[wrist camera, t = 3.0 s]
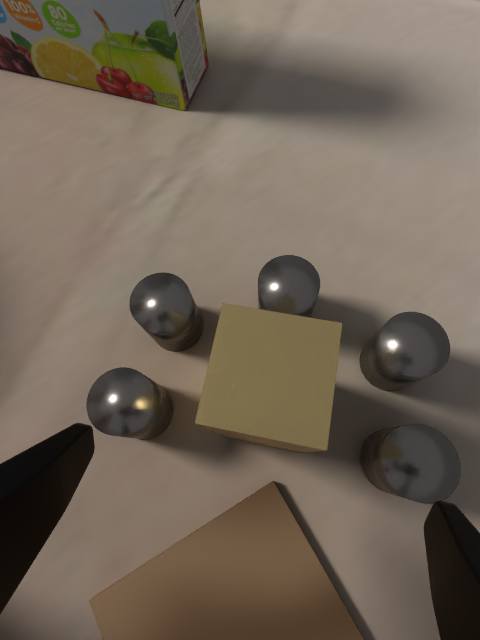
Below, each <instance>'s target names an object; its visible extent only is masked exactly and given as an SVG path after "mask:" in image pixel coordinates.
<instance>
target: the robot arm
mask: <svg viewBox="0 0 480 640" xmlns="http://www.w3.org/2000/svg"><path fill="white" fill-rule="evenodd" d="M94 448H95V446H94V437H93V429H92V427H91V426H90V425H86V424H81V423H76V424H73V425H71V426H70V427H68V428H66V429H64V430H62V431H60V432H59V433H57V434H55V435H53V436H51V437H49V438H47V439H46V440H44V441H42V442H40V443H38V444H36V445H35V446H33V447H31V448H29V449H27V450H25V451H23V452H22V453H20V454H18V455H16V456H14V457H12V458H11V459H9V460H7V461H5V462H3V463H1V464H0V614H1V612H2V611H3V609H4V608H5V606H6V604H7V603H8V601H9V600H10V598H11V596H12V595H13V593H14V592H15V590H16V589H17V587H18V585H19V584H20V582H21V581H22V579H23V577H24V576H25V574H26V573H27V571H28V569H29V568H30V566H31V565H32V563H33V561H34V560H35V558H36V557H37V555H38V553H39V552H40V550H41V549H42V547H43V545H44V544H45V542H46V541H47V539H48V538H49V536H50V534H51V533H52V531H53V530H54V528H55V526H56V525H57V523H58V522H59V520H60V518H61V517H62V515H63V513H64V512H65V510H66V508H67V506H68V505H69V503H70V501H71V499H72V497H73V495H74V493H75V491H76V489H77V487H78V485H79V483H80V481H81V479H82V477H83V475H84V473H85V471H86V469H87V467H88V464H89V462H90V460H91V458H92V456H93V454H94ZM424 537H425V545H426V554H427V562H428V571H429V579H430V588H431V595H432V601H433V606H434V611H435V616H436V620H437V625H438V629H439V634H440V638H441V640H480V533H479V532H478V530H477V529H476V528H475V527H474V526H473V525H472V524H471V522H470V521H469V520H468V519H467V518H466V517H465V515H464V514H463V513H462V512H461V511H460V510H459V509H458V507H457V506H455V505H454V504H452V503H448V502H443V501H436V502H434V504H433V506H432V508H431V510H430V512H429V514H428V516H427V518H426V520H425V523H424Z"/></svg>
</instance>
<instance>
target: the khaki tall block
mask: <svg viewBox="0 0 480 640" xmlns="http://www.w3.org/2000/svg"><path fill="white" fill-rule="evenodd" d="M341 330H342V323H340V322H334V321H328V320H322V319H316V318H309V317H303V316H297V315H291V314H285V313H279V312H273V311H267V310H261V309H255V308H249V307H243V306H237V305H231V304H225V303H222V308H221V312H220V316H219V321H218V325H217V329H216V333H215V338H214V342H213V346H212V351H211V355H210V359H209V364H208V368H207V372H206V377H205V381H204V385H203V389H202V394H201V398H200V402H199V407H198V411H197V415H196V420H195V424H197V425H200V426H202V427H204V428H206V429H209V430H211V431H213V432H215V433H217V434H220V435H222V436H224V437H229V438H233V439H238V440H243V441H248V442H252V443H257V444H262V445H267V446H272V447H276V448H281V449H286V450H291V451H295V452H315V451H327V447H328V439H329V431H330V422H331V414H332V405H333V397H334V389H335V380H336V372H337V364H338V355H339V347H340V338H341Z"/></svg>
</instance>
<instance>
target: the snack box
mask: <svg viewBox="0 0 480 640" xmlns="http://www.w3.org/2000/svg"><path fill="white" fill-rule="evenodd" d="M207 66H208V56H207V49H206V42H205V35H204V29H203V22H202V15H201V8H200V1H199V0H0V68H3V69H7V70H12V71H16V72H21V73H24V74H29V75H33V76H38V77H43V78H46V79H51V80H55V81H59V82H63V83H68V84H72V85H76V86H80V87H85V88H89V89H93V90H97V91H102V92H106V93H110V94H114V95H119V96H123V97H127V98H131V99H135V100H140V101H144V102H148V103H153V104H157V105H161V106H165V107H169V108H174V109H178V110H187V108H188V105H189V103H190V101H191V99H192V97H193V95H194V93H195V91H196V88H197V86H198V85H199V82H200V80H201V78H202V76H203V74H204V72H205V70H206V68H207Z"/></svg>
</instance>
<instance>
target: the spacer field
mask: <svg viewBox="0 0 480 640" xmlns="http://www.w3.org/2000/svg"><path fill="white" fill-rule="evenodd" d="M319 289H320V278H319V275H318V272H317V271H316V269H315V268H314V266H313V265H312V264H311V263H310V262H308V261H307V260H305V259H303V258H301V257H298V256H294V255H284V256H279V257H276V258H274V259H272V260H270V261H269V262H268V263H267V264H265V266H264V267H263V268H262V270H261V272H260V274H259V277H258V301H259V309H261V310H267V311H273V312H279V313H285V314H291V315H297V316H303V317H309V318H310V317H311V314H312V311H313V308H314V305H315V302H316V299H317V296H318V293H319ZM130 311H131V314H132V316H133V317H134V319H135V320H136V321H137V322H138V323H139V324H140V325H141V326H142V327H143V329H144V330H145V331H146V332H147V333H148V334H149V335H150V336H151V337H152V338H153V339H154V340H155V341H156V342H157V343H158V344H159V345H160V346H161V347H163V348H164V349H166V350H170V351H182V350H185V349H188V348H190V347H191V346H193V345H194V344H195V343H196V342H197V341H198V339H199V338H200V336H201V334H202V330H203V320H202V317H201V315H200V313H199V310H198V308H197V306H196V304H195V302H194V299H193V297H192V295H191V293H190V291H189V289H188V287H187V285H186V283H185V282H184V281H183V280H182V279H181V278H179V277H178V276H176V275H173V274H170V273H156V274H152V275H150V276H147V277H146V278H144V279H143V280H141V281H140V282H139V283H138V284H137V285H136V287H135V288H134V290H133V292H132V294H131V297H130ZM449 354H450V343H449V339H448V336H447V334H446V332H445V330H444V329H443V328H442V326H441V325H440V324H439V323H438V322H437V321H435V320H434V319H433V318H431V317H429V316H427V315H425V314H422V313H418V312H404V313H400V314H397V315H395V316H394V317H392V318H391V319H390V320H389V321H388V322H387V323H386V324H385V325H384V326H383V327H382V328H381V329H380V330H379V331H378V332H377V333H376V335H375V336H374V337H373V338H372V339H371V340H370V341H369V342H368V343H367V344H366V345H365V347H364V348H363V350H362V352H361V355H360V368H361V371H362V373H363V375H364V376H365V378H366V379H367V380H368V381H369V382H370V383H371V384H372V385H374V386H375V387H377V388H379V389H382V390H386V391H396V390H400V389H402V388H404V387H406V386H409V385H411V384H413V383H415V382H417V381H419V380H421V379H423V378H425V377H427V376H429V375H431V374H434V373H436V372H437V371H439V370H440V369H441V368H442V367H443V366H444V365H445V363H446V362H447V360H448V357H449ZM87 413H88V417H89V419H90V421H91V423H92V424H93V425H94V427H95V428H97V429H98V430H99V431H101V432H103V433H105V434H108V435H113V436H121V437H129V438H137V439H149V438H153V437H155V436H157V435H159V434H160V433H162V432H163V431H164V430H165V429H166V427H167V426H168V425H169V423H170V421H171V418H172V415H173V402H172V399H171V397H170V395H169V393H168V392H167V391H166V390H165V389H164V388H163V387H161V386H160V385H158V384H157V383H155V382H154V381H152V380H151V379H149V378H148V377H146V376H145V375H143V374H142V373H140V372H138V371H137V370H134V369H131V368H116V369H112V370H110V371H108V372H106V373H104V374H103V375H101V376H100V377H99V378H98V379H97V380H96V381H95V383H94V384H93V385H92V387H91V389H90V391H89V394H88V398H87ZM360 462H361V467H362V470H363V472H364V474H365V476H366V477H367V479H368V480H369V481H370V482H371V483H372V484H373V485H374V486H375V487H376V488H378V489H380V490H382V491H384V492H387V493H391V494H394V495H397V496H400V497H403V498H407V499H410V500H413V501H416V502H420V503H434V502H436V501H442V500H444V499H446V498H447V497H448V496H450V495H451V494H452V493H453V491H454V490H455V488H456V487H457V485H458V482H459V479H460V472H461V468H460V461H459V457H458V454H457V452H456V450H455V448H454V446H453V445H452V443H451V442H450V441H449V440H448V438H447V437H446V436H444V435H443V434H442V433H441V432H439V431H438V430H436V429H434V428H432V427H430V426H426V425H422V424H410V425H405V426H400V427H395V428H390V429H386V430H381V431H377V432H375V433H373V434H372V435H370V436H369V437H368V438H367V439H366V440H365V442H364V444H363V446H362V449H361V453H360Z"/></svg>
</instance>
